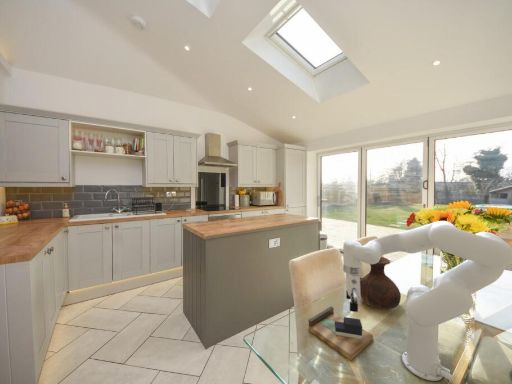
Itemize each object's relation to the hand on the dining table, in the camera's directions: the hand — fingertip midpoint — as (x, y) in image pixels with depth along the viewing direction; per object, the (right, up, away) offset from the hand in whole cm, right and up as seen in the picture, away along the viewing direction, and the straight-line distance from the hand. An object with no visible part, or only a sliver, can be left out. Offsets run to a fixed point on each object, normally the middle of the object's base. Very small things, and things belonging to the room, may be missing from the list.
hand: (351, 304), depth 98 cm
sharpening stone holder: (-4, -16, +3) cm, 17 cm away
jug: (+28, -14, +27) cm, 41 cm away
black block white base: (-2, -13, +1) cm, 14 cm away
